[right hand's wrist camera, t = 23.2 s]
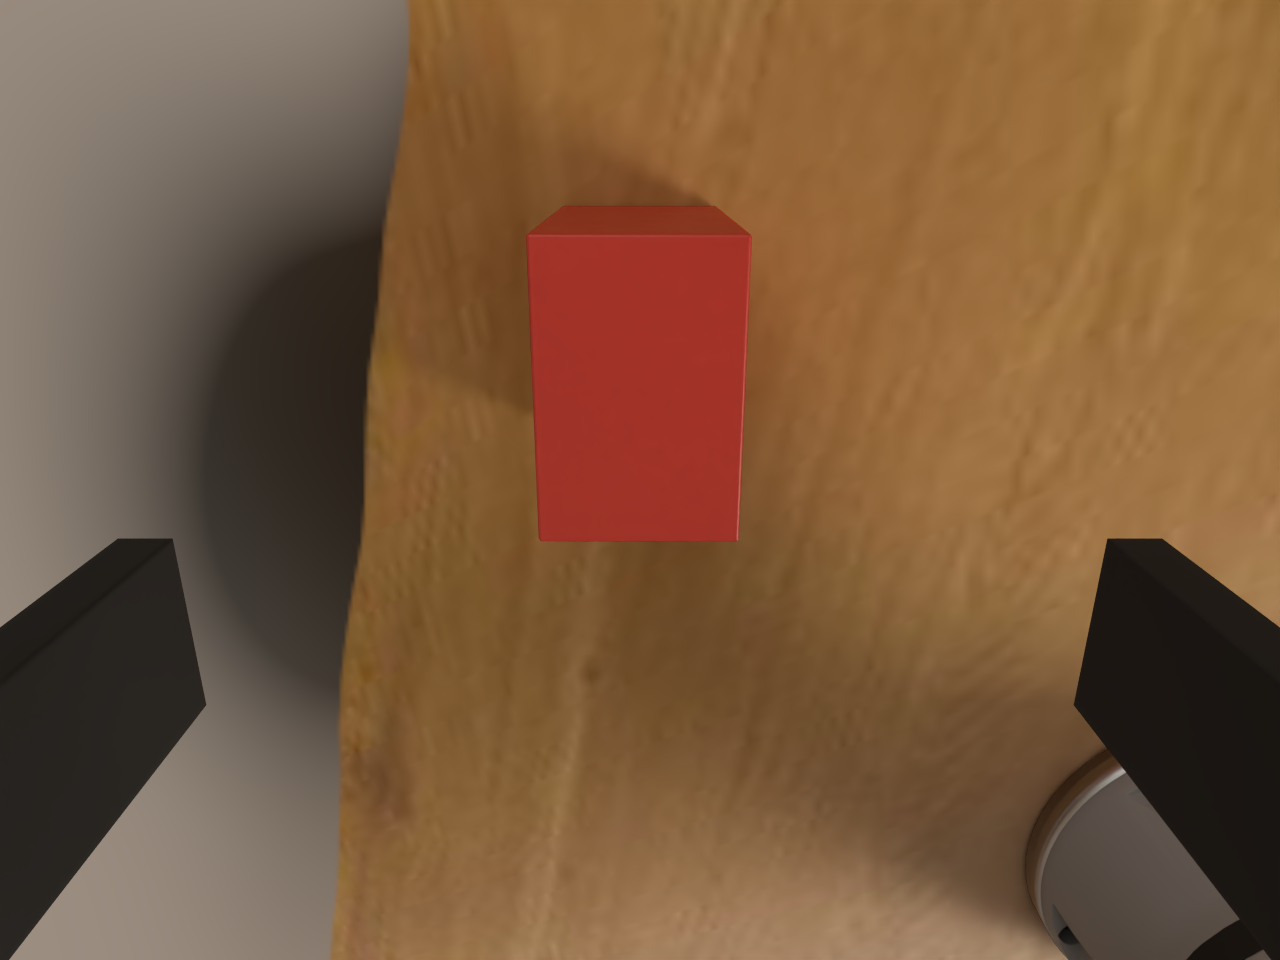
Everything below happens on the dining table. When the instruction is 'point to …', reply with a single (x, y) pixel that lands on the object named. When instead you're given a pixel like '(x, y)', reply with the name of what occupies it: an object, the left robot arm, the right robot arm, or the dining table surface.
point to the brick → (638, 372)
